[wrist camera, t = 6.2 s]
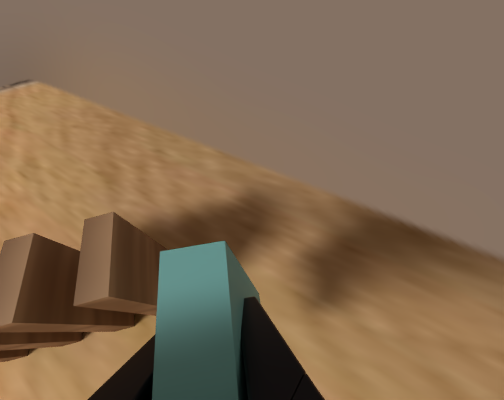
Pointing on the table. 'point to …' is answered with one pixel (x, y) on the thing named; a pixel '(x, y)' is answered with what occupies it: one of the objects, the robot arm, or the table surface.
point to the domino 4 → (117, 267)
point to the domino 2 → (47, 290)
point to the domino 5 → (200, 324)
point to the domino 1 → (12, 354)
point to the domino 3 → (37, 339)
